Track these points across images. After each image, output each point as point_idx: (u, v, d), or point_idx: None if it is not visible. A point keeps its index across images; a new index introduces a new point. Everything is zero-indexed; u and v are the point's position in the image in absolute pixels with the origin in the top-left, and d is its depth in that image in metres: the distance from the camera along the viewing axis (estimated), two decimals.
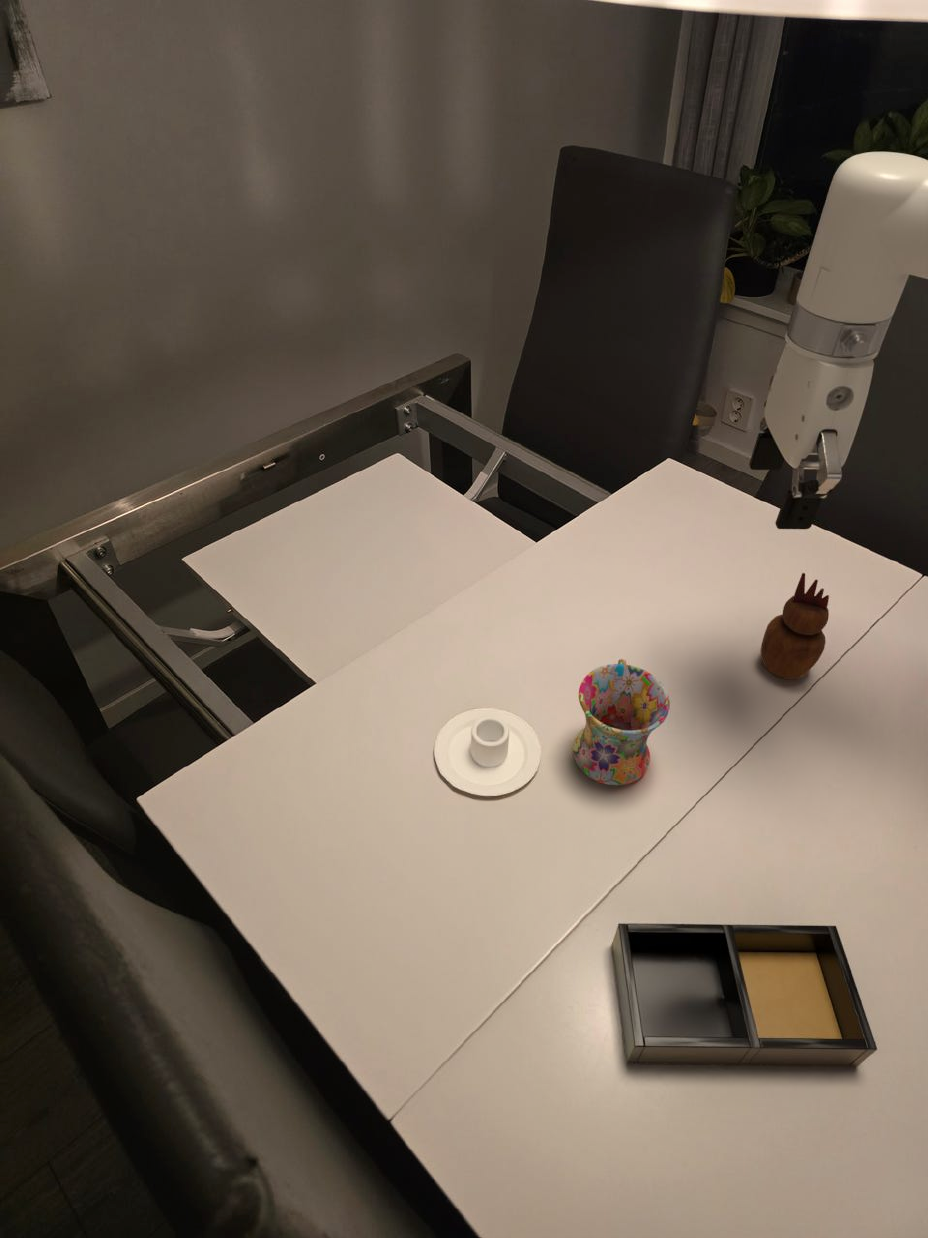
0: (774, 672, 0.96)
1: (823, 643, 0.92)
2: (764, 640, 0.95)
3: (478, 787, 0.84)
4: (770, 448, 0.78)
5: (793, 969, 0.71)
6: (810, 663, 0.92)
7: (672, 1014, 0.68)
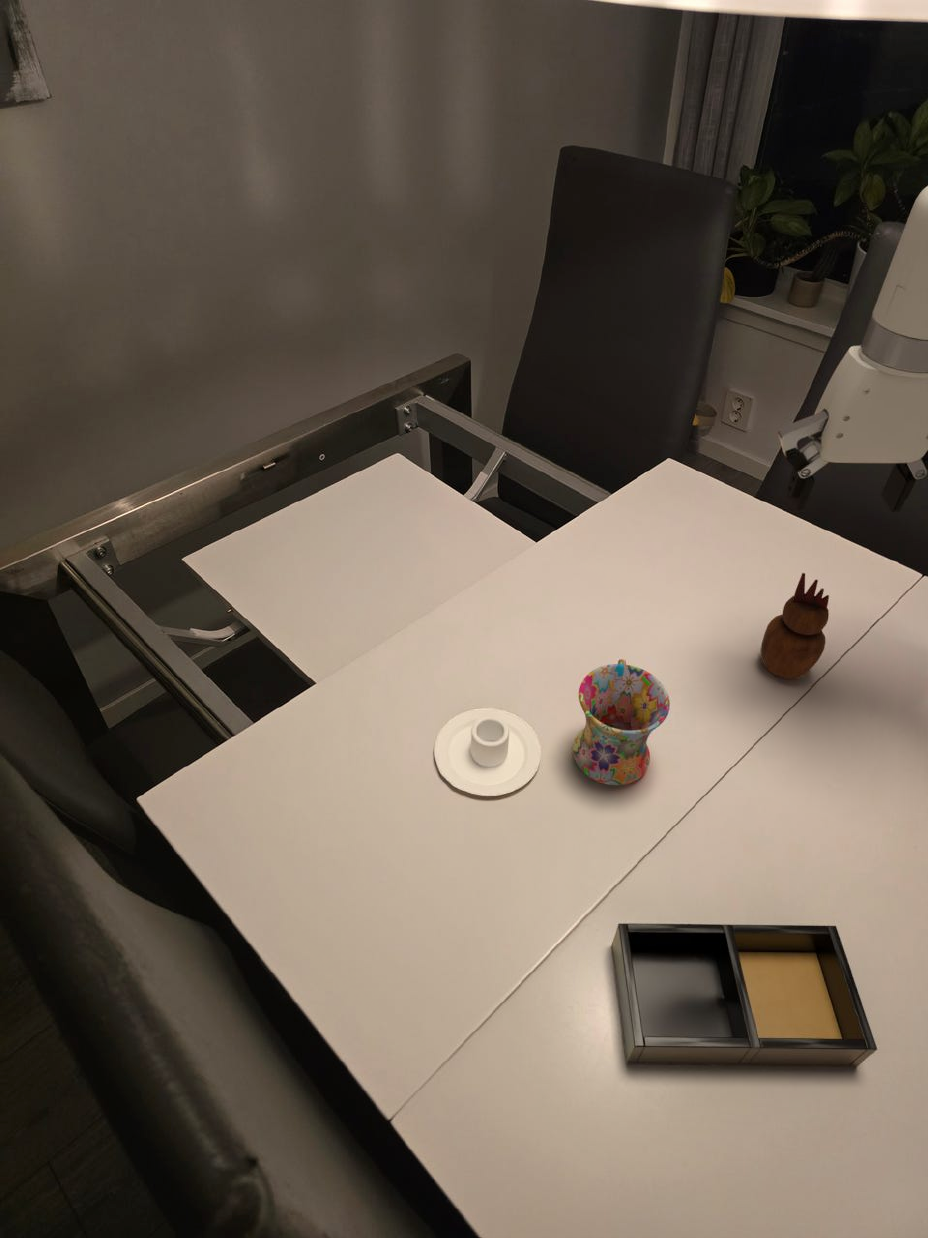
0: (774, 672, 0.96)
1: (823, 643, 0.92)
2: (764, 640, 0.95)
3: (478, 787, 0.84)
4: None
5: (793, 969, 0.71)
6: (810, 663, 0.92)
7: (672, 1014, 0.68)
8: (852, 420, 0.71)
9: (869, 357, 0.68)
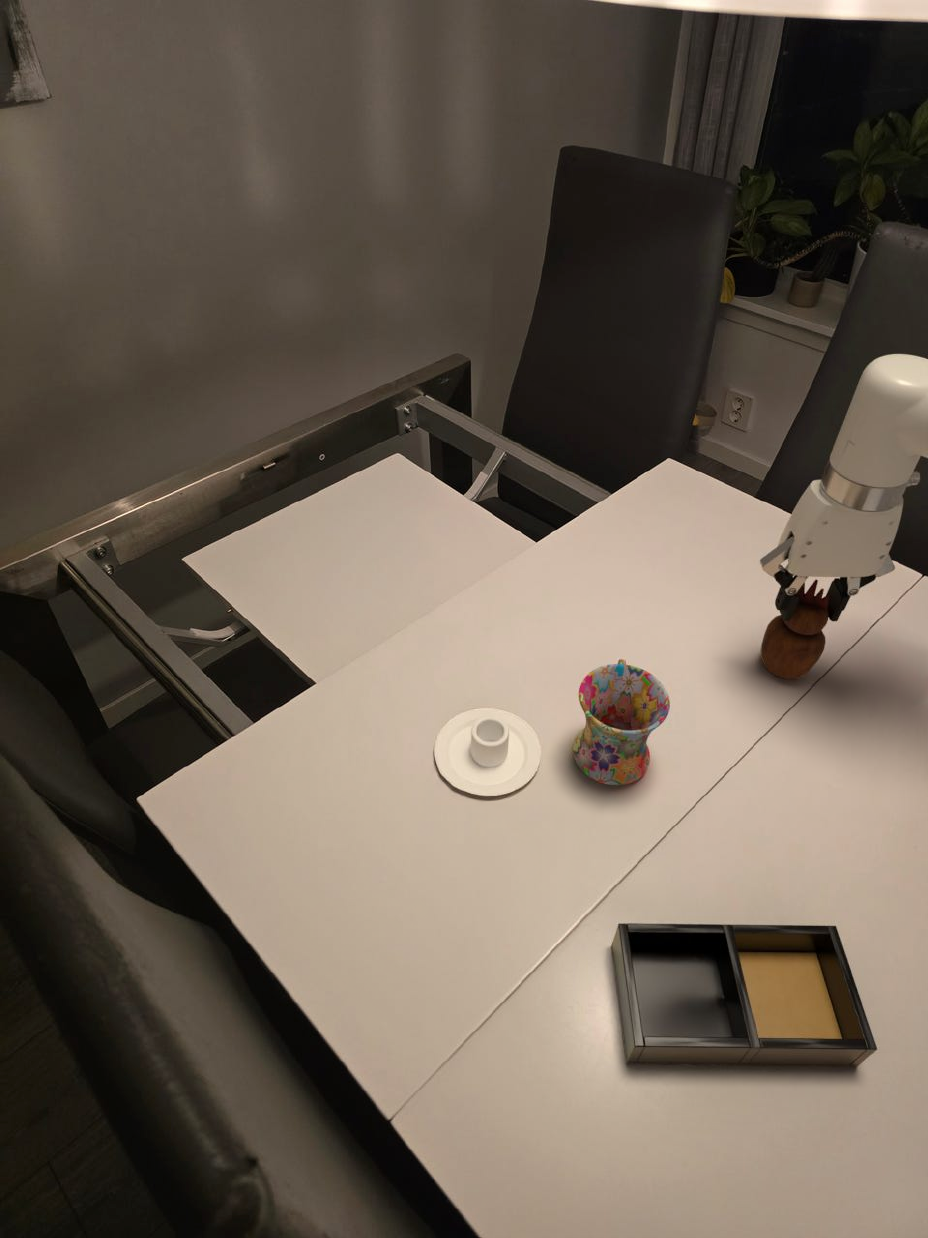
0: (774, 672, 0.96)
1: (823, 643, 0.92)
2: (764, 640, 0.95)
3: (478, 787, 0.84)
4: None
5: (793, 969, 0.71)
6: (810, 663, 0.92)
7: (672, 1014, 0.68)
8: (814, 544, 0.81)
9: (827, 494, 0.78)
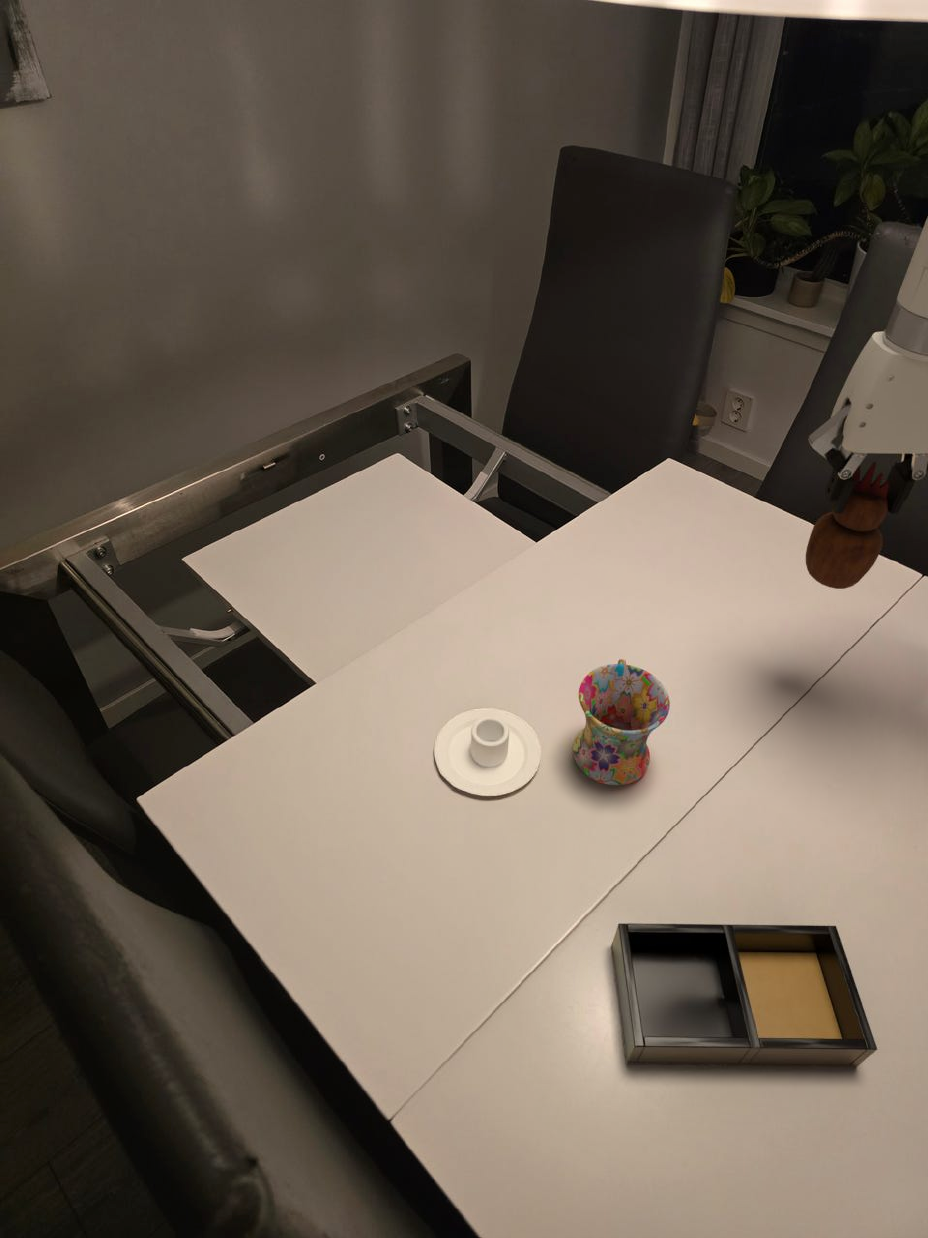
0: (821, 580, 0.83)
1: (880, 542, 0.79)
2: (810, 542, 0.82)
3: (478, 787, 0.84)
4: None
5: (793, 969, 0.71)
6: (865, 565, 0.80)
7: (672, 1014, 0.68)
8: (876, 408, 0.68)
9: (894, 342, 0.65)
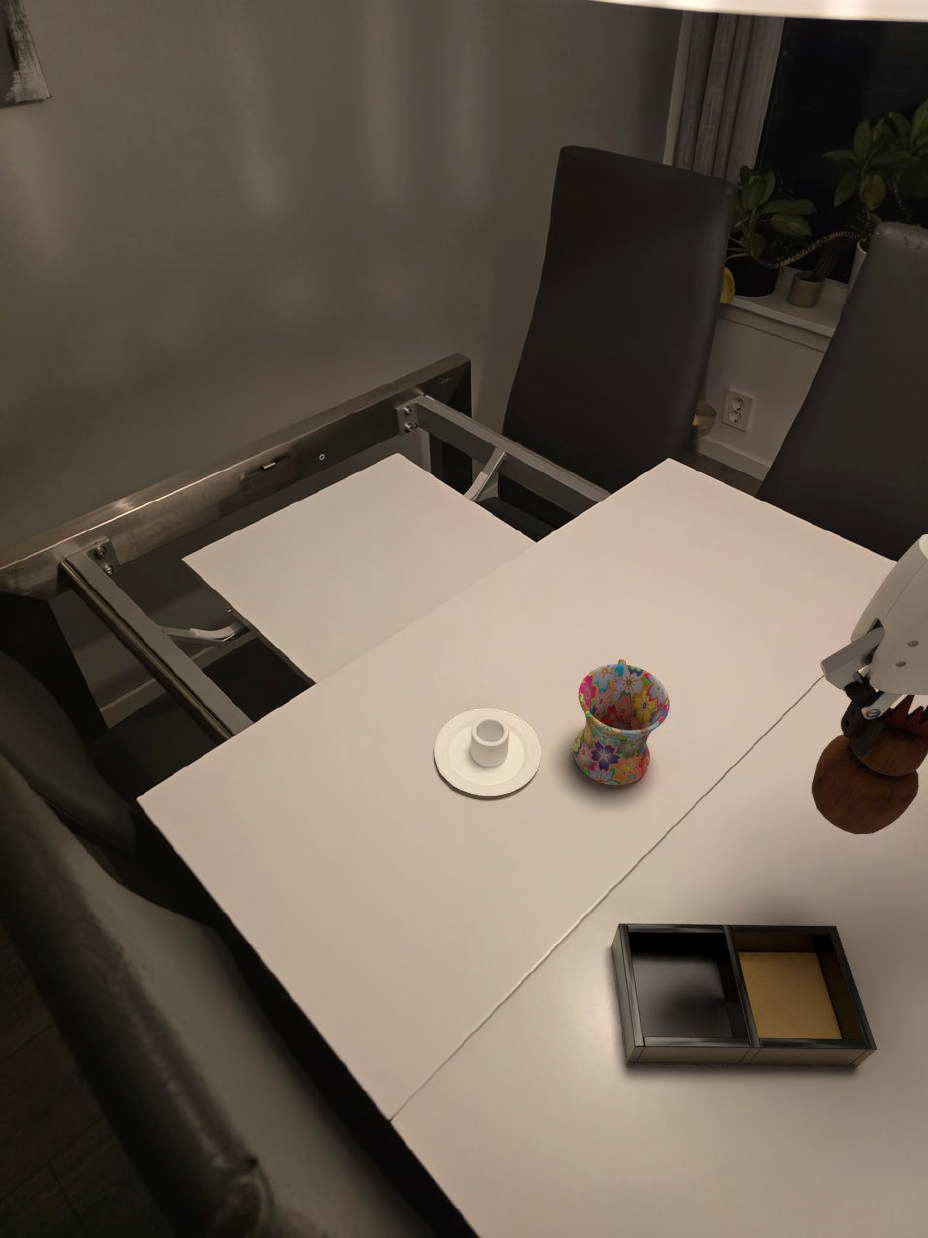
0: (833, 822, 0.61)
1: (916, 787, 0.57)
2: (818, 774, 0.60)
3: (478, 787, 0.84)
4: None
5: (793, 969, 0.71)
6: (894, 817, 0.58)
7: (672, 1014, 0.68)
8: (922, 647, 0.46)
9: None
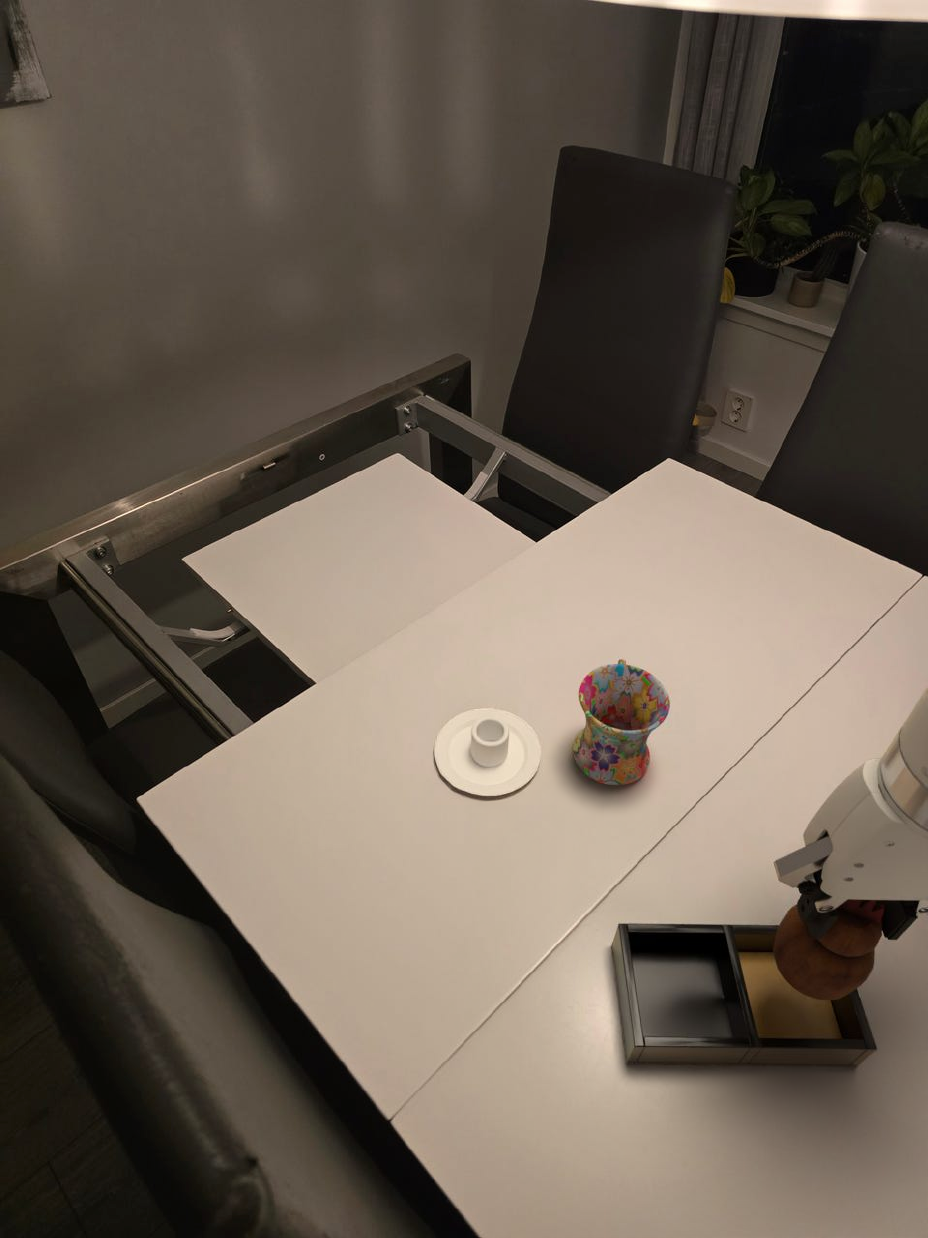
0: (794, 987, 0.62)
1: (872, 963, 0.58)
2: (779, 942, 0.61)
3: (478, 787, 0.84)
4: None
5: None
6: (851, 991, 0.59)
7: (672, 1014, 0.68)
8: (868, 868, 0.48)
9: (894, 802, 0.45)
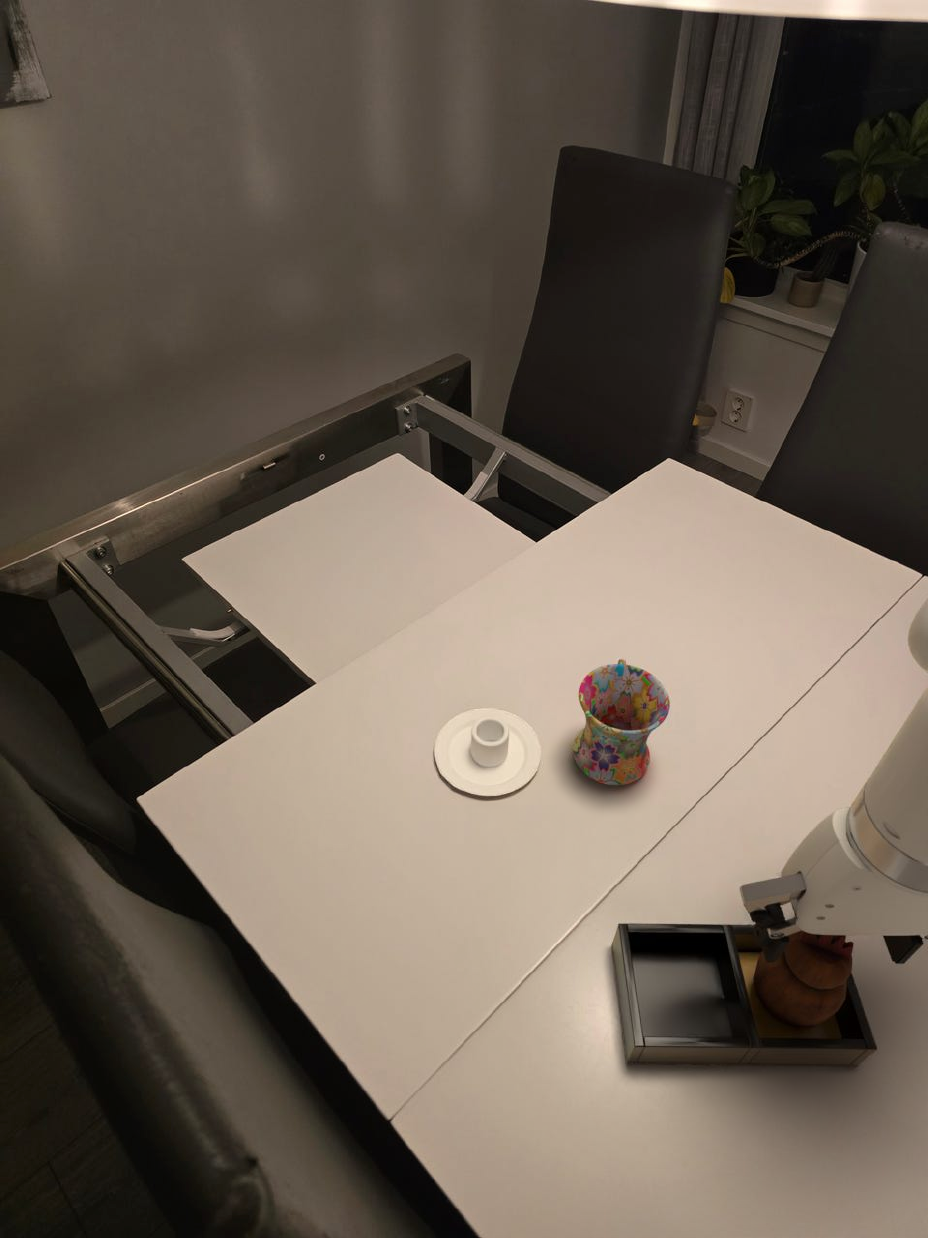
0: (772, 1015, 0.67)
1: (844, 995, 0.63)
2: (758, 973, 0.66)
3: (478, 787, 0.84)
4: None
5: None
6: (824, 1020, 0.63)
7: (672, 1014, 0.68)
8: (837, 908, 0.52)
9: (860, 851, 0.49)
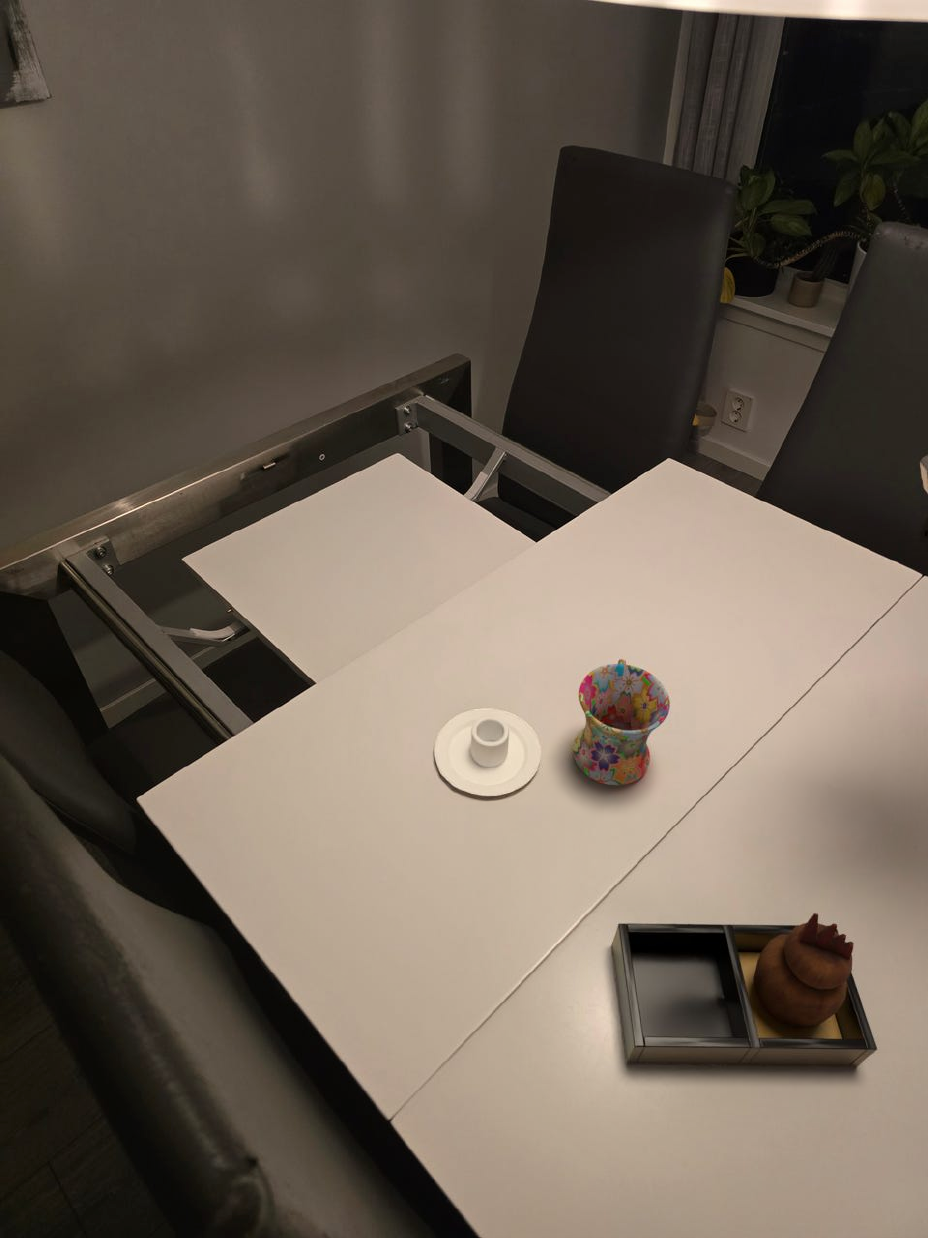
0: (772, 1015, 0.67)
1: (844, 995, 0.63)
2: (758, 973, 0.66)
3: (478, 787, 0.84)
4: None
5: None
6: (824, 1020, 0.63)
7: (672, 1014, 0.68)
8: None
9: None
